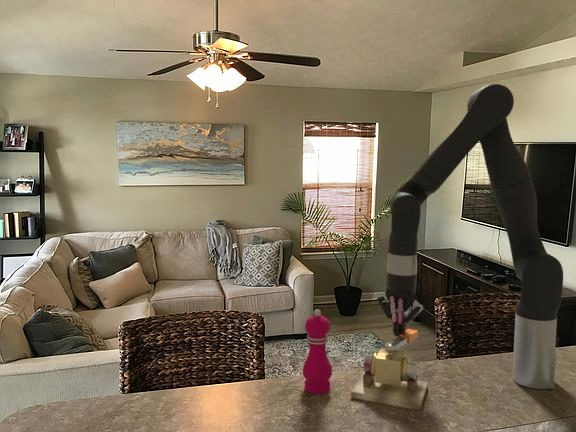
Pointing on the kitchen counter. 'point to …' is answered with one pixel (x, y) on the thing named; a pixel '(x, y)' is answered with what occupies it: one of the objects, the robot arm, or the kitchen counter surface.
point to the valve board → (390, 392)
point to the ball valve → (390, 367)
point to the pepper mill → (317, 355)
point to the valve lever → (401, 340)
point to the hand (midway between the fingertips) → (398, 335)
